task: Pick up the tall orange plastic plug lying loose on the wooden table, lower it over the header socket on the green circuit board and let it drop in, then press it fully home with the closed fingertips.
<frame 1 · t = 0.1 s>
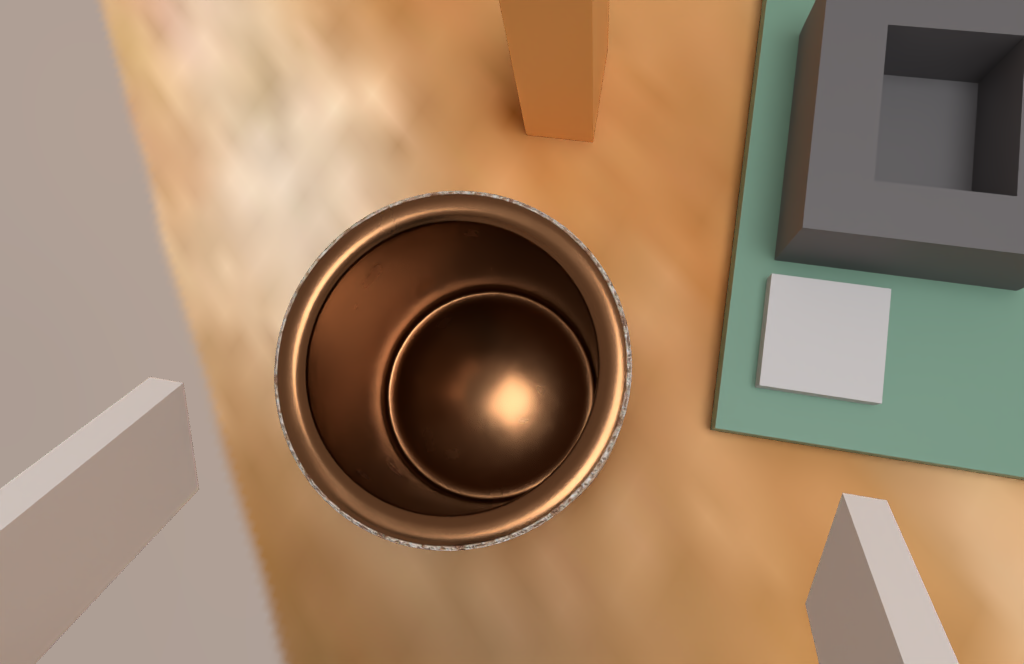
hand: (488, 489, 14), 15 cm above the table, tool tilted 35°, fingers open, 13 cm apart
planter: (493, 395, 31), on the table
plug: (567, 92, 33), on the table
board: (886, 213, 30), on the table
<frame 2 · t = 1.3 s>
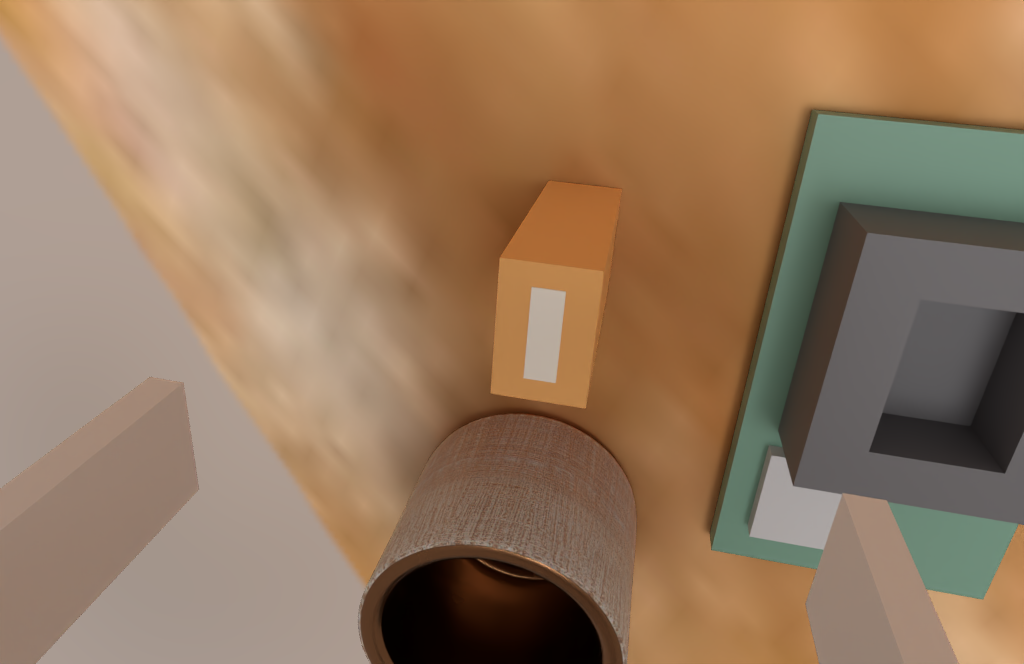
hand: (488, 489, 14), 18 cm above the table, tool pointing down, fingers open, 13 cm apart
planter: (529, 497, 37), on the table
plug: (579, 237, 30), on the table
board: (901, 371, 30), on the table
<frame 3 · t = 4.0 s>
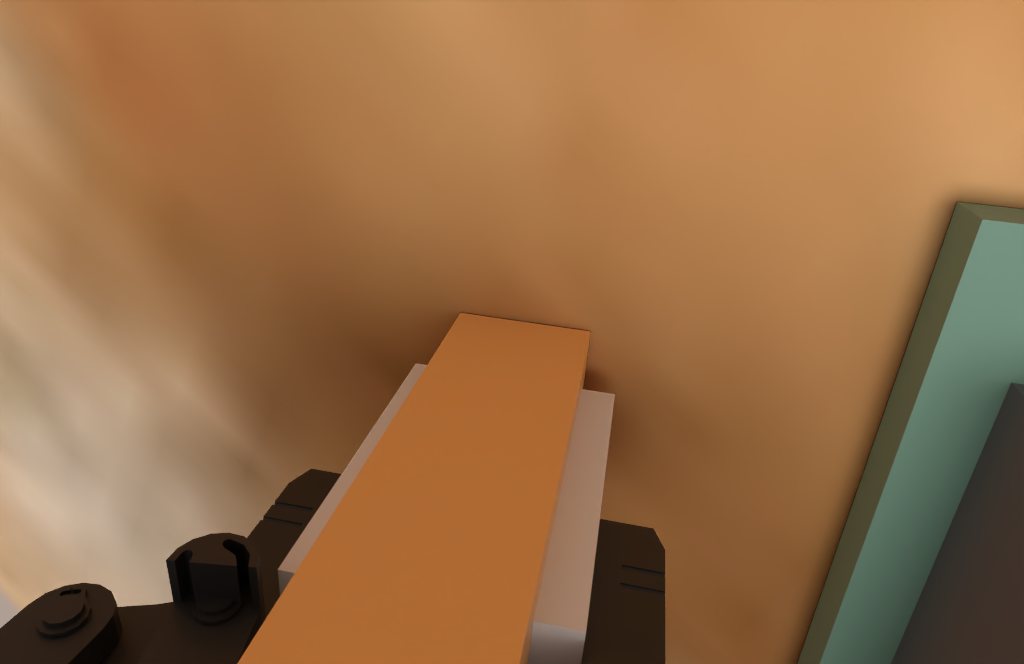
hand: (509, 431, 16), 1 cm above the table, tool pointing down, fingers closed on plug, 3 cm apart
plug: (517, 406, 17), on the table, touching gripper
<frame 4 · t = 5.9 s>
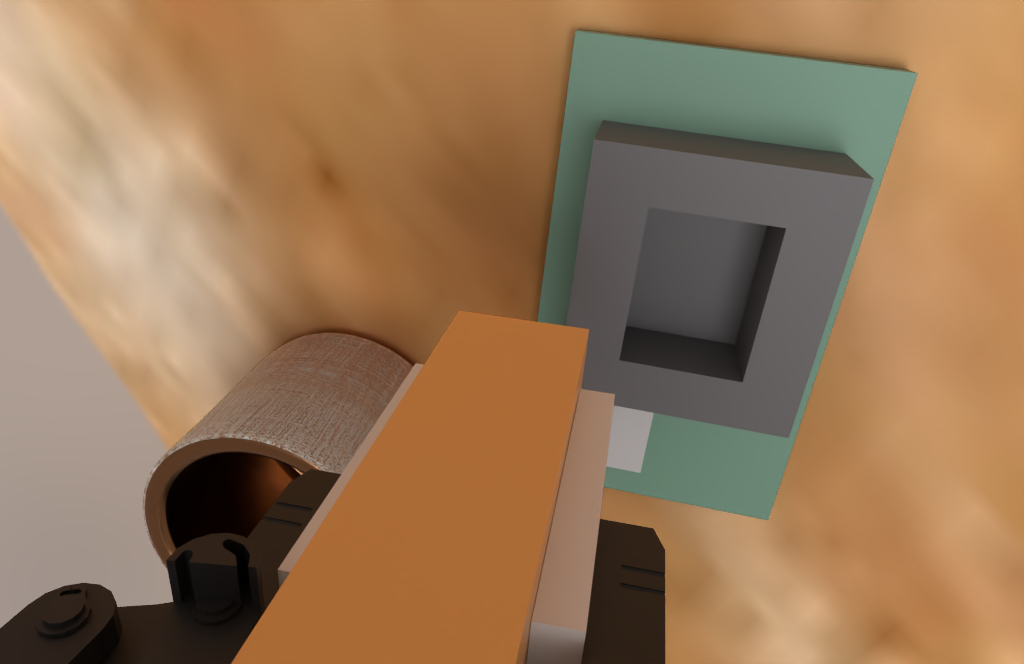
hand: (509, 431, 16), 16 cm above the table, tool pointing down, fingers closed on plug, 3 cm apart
planter: (355, 419, 38), on the table
plug: (516, 404, 17), point 15 cm above the table, touching gripper
board: (682, 294, 31), on the table
when the fingers open (7 cm above the table, at t = 7.9 s): plug drops 3 cm, resting on board.
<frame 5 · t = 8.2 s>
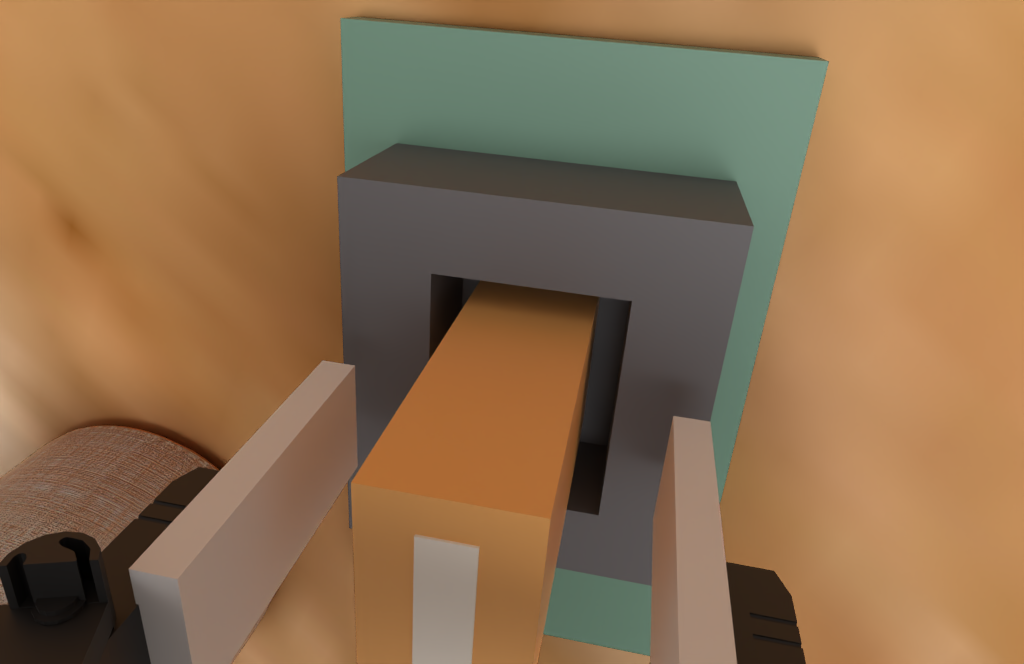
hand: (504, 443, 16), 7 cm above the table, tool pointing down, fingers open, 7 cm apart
planter: (163, 527, 30), on the table
plug: (539, 343, 20), point 2 cm above the table, touching board
board: (543, 373, 23), on the table
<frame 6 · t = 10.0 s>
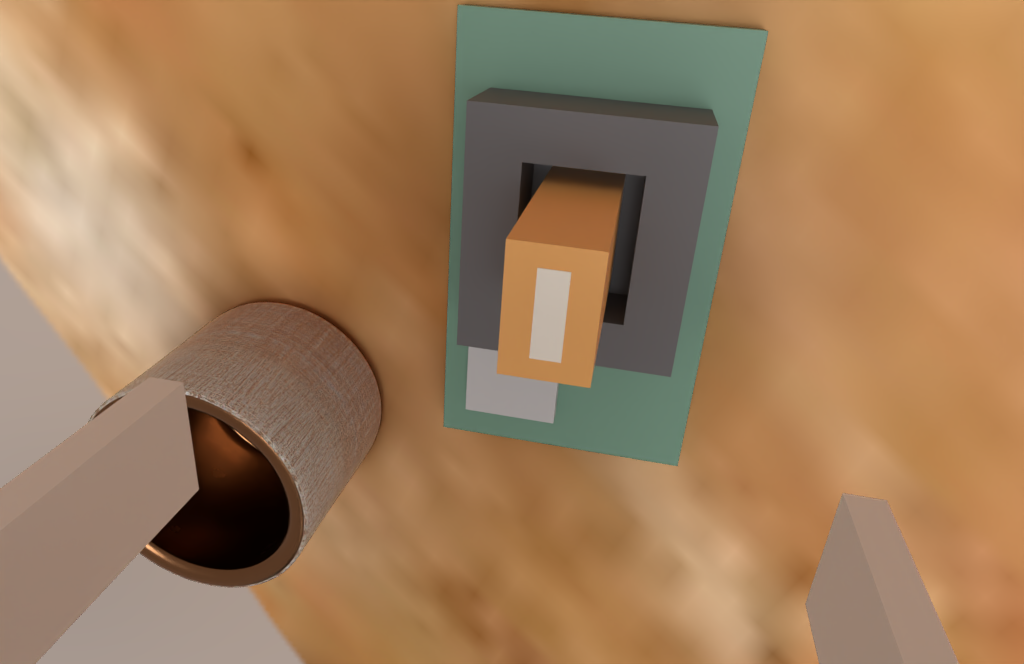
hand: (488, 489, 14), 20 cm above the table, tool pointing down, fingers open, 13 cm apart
planter: (293, 386, 40), on the table
plug: (583, 221, 31), point 2 cm above the table, touching board
board: (582, 252, 33), on the table
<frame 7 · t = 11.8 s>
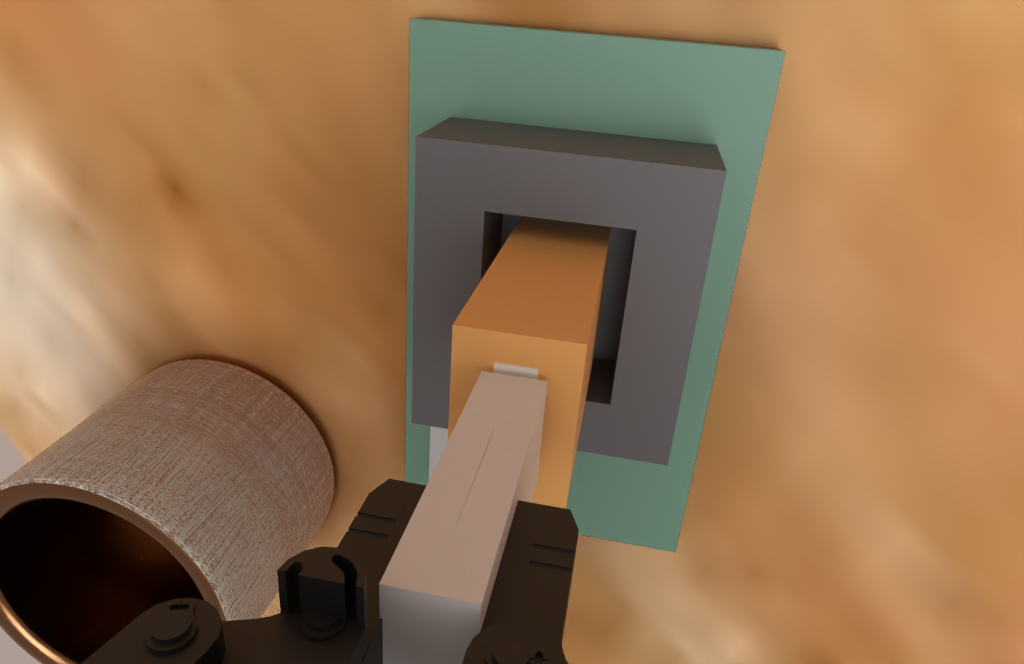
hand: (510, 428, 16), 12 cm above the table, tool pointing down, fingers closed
planter: (236, 451, 35), on the table
plug: (562, 276, 26), point 2 cm above the table, touching board, gripper
board: (563, 307, 28), on the table
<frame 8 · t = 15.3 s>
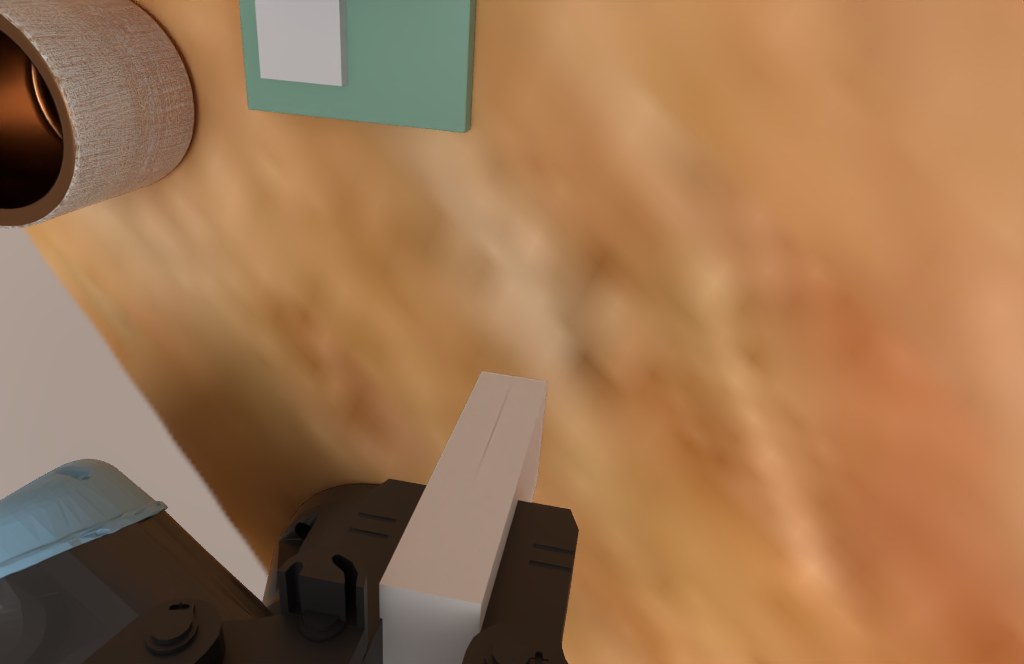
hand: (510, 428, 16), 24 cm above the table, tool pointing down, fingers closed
planter: (115, 89, 41), on the table
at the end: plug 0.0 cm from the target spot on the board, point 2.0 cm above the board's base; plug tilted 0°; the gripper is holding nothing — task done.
